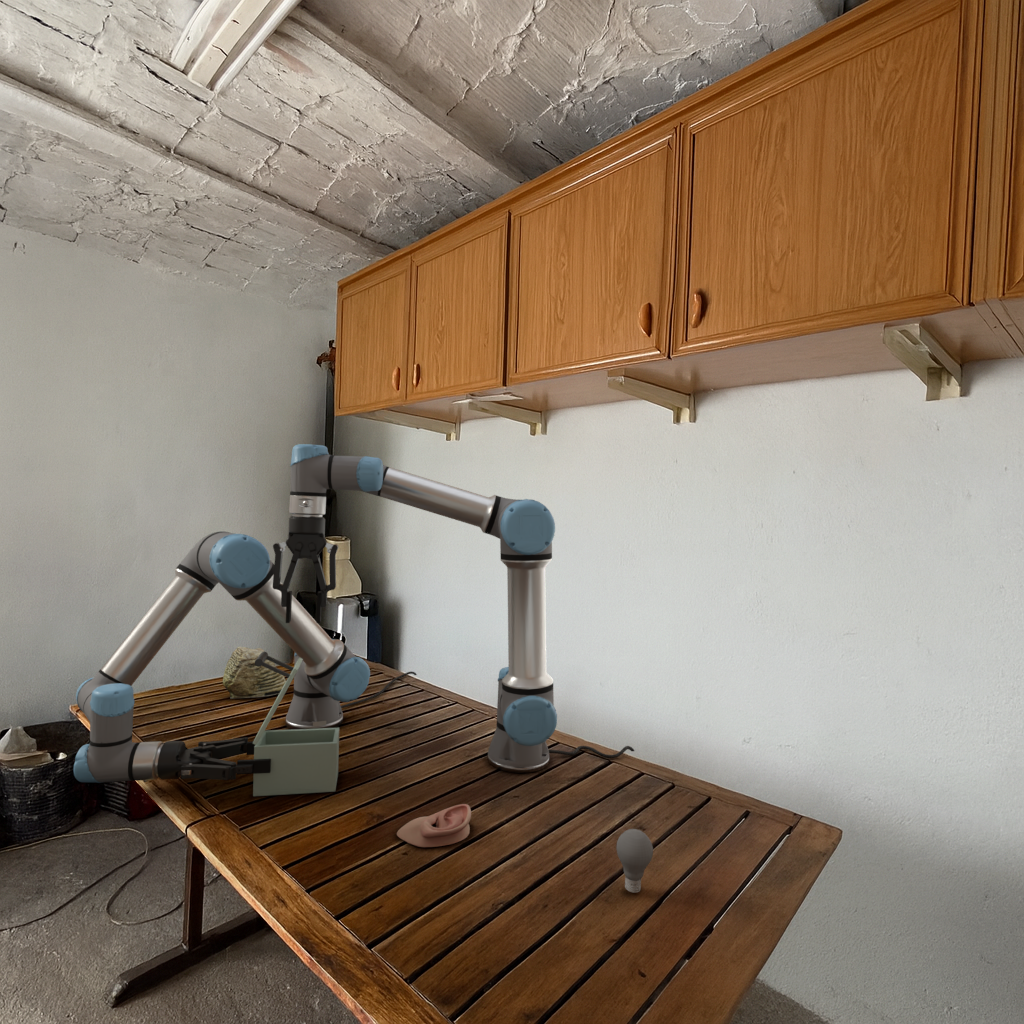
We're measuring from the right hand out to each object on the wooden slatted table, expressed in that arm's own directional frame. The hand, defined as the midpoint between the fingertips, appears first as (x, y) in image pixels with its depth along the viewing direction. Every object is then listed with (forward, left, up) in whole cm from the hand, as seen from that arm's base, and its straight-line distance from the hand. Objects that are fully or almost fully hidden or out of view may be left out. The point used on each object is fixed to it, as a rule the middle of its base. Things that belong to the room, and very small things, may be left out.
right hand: (303, 621), depth 138 cm
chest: (0, 0, -36) cm, 36 cm away
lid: (+4, -1, -17) cm, 18 cm away
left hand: (+5, -1, -29) cm, 30 cm away
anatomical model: (-24, +28, -36) cm, 51 cm away
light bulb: (-51, +55, -36) cm, 83 cm away
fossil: (+11, -67, -36) cm, 77 cm away
